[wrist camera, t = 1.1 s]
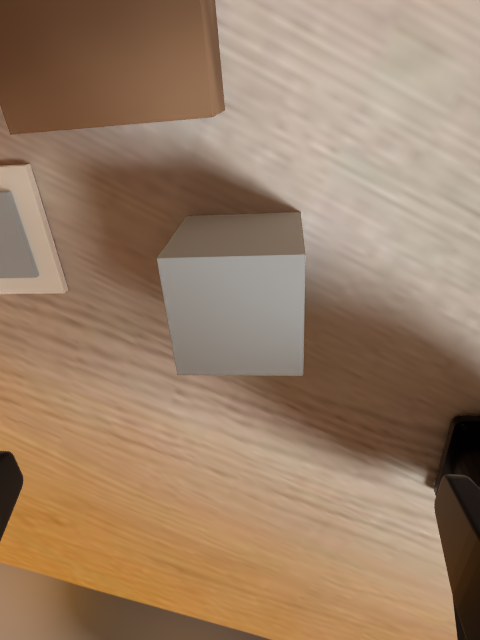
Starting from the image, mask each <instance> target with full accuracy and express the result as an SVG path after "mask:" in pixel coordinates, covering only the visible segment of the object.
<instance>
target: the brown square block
mask: <svg viewBox="0 0 480 640" xmlns="http://www.w3.org/2000/svg"><path fill="white" fill-rule="evenodd" d="M0 105H1V108H2V111H3V114H4V117H5V120H6V123H7V126H8V129H9V132H10V135H11V134H22V133H34V132H46V131H57V130H69V129H81V128H92V127H104V126H115V125H127V124H139V123H150V122H162V121H174V120H185V119H197V118H209V117H214V116H215V115H217V114H219V113H221V112H222V111H224V110H225V105H224V94H223V83H222V72H221V61H220V50H219V39H218V28H217V17H216V6H215V0H0Z"/></svg>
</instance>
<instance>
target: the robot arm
mask: <svg viewBox="0 0 480 640" xmlns="http://www.w3.org/2000/svg"><path fill="white" fill-rule="evenodd" d="M462 424H464V425H462ZM460 425H462V426H460ZM22 485H23V475H22V473H21V471H20V468H19V466H18V464H17V462H16V460H15V457H14V455H13V454H12V453H11V452H8V451H0V541H1V538H2V536H3V533H4V531H5V528H6V526H7V523H8V521H9V519H10V516H11V514H12V511H13V509H14V506H15V504H16V501H17V499H18V496H19V494H20V491H21V489H22ZM434 492H435V495H436V499H435V514H436V519H437V524H438V529H439V533H440V538H441V543H442V548H443V553H444V557H445V562H446V567H447V572H448V576H449V581H450V586H451V590H452V594H453V603H454V611H455V620H456V628H457V637H458V640H480V416H467V415H462V416H458V417H455V418H454V419H453V420H452V422H451V425H450V429H449V433H448V437H447V441H446V444H445V448H444V452H443V456H442V459H441V463H440V467H439V471H438V474H437V478H436V482H435V486H434Z"/></svg>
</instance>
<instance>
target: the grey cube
mask: <svg viewBox="0 0 480 640" xmlns="http://www.w3.org/2000/svg"><path fill="white" fill-rule="evenodd" d="M157 263H158V269H159V274H160V280H161V286H162V291H163V297H164V303H165V308H166V314H167V320H168V325H169V331H170V336H171V342H172V348H173V353H174V359H175V365H176V370H177V375H252V376H303V364H304V306H305V247H304V238H303V230H302V221H301V212H279V213H252V214H225V215H197V216H186V217H185V218H184V220H183V221H182V223H181V224H180V226H179V227H178V228H177V230H176V231H175V233H174V234H173V236H172V237H171V238H170V240H169V241H168V243H167V244H166V246H165V247H164V248H163V250H162V251H161V253H160V254H159V256H158V257H157Z"/></svg>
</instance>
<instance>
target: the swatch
mask: <svg viewBox="0 0 480 640" xmlns="http://www.w3.org/2000/svg"><path fill="white" fill-rule="evenodd" d="M67 291H68V287H67V283H66V280H65V277H64V274H63V270H62V267H61V264H60V260H59V257H58V254H57V250H56V247H55V244H54V241H53V237H52V234H51V231H50V227H49V224H48V221H47V218H46V214H45V211H44V208H43V204H42V201H41V198H40V195H39V191H38V188H37V185H36V181H35V178H34V175H33V172H32V168H31V165H30V164H19V165H0V294H47V293H65V292H67Z"/></svg>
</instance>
